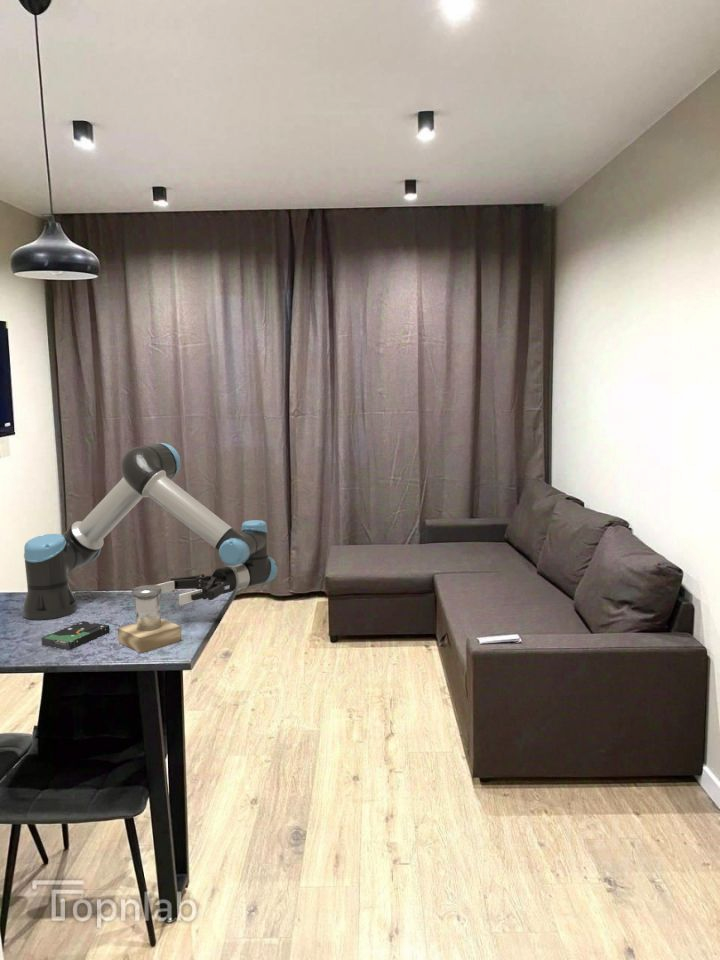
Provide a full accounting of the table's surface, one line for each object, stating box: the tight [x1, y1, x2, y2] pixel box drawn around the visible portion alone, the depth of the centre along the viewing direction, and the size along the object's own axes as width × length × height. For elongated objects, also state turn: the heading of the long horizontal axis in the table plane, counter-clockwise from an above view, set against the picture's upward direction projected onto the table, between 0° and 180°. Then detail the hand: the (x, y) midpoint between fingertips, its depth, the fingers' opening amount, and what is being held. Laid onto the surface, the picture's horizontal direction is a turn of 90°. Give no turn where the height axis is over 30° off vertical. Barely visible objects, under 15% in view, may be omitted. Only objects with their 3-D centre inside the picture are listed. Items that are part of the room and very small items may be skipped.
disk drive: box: [41, 620, 111, 651], centre depth 197 cm, size 10×3×15 cm
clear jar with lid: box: [131, 584, 162, 631], centre depth 193 cm, size 8×8×11 cm
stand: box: [117, 618, 182, 654], centre depth 193 cm, size 12×12×4 cm
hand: (166, 595), depth 196 cm, fingers open, 13 cm apart
